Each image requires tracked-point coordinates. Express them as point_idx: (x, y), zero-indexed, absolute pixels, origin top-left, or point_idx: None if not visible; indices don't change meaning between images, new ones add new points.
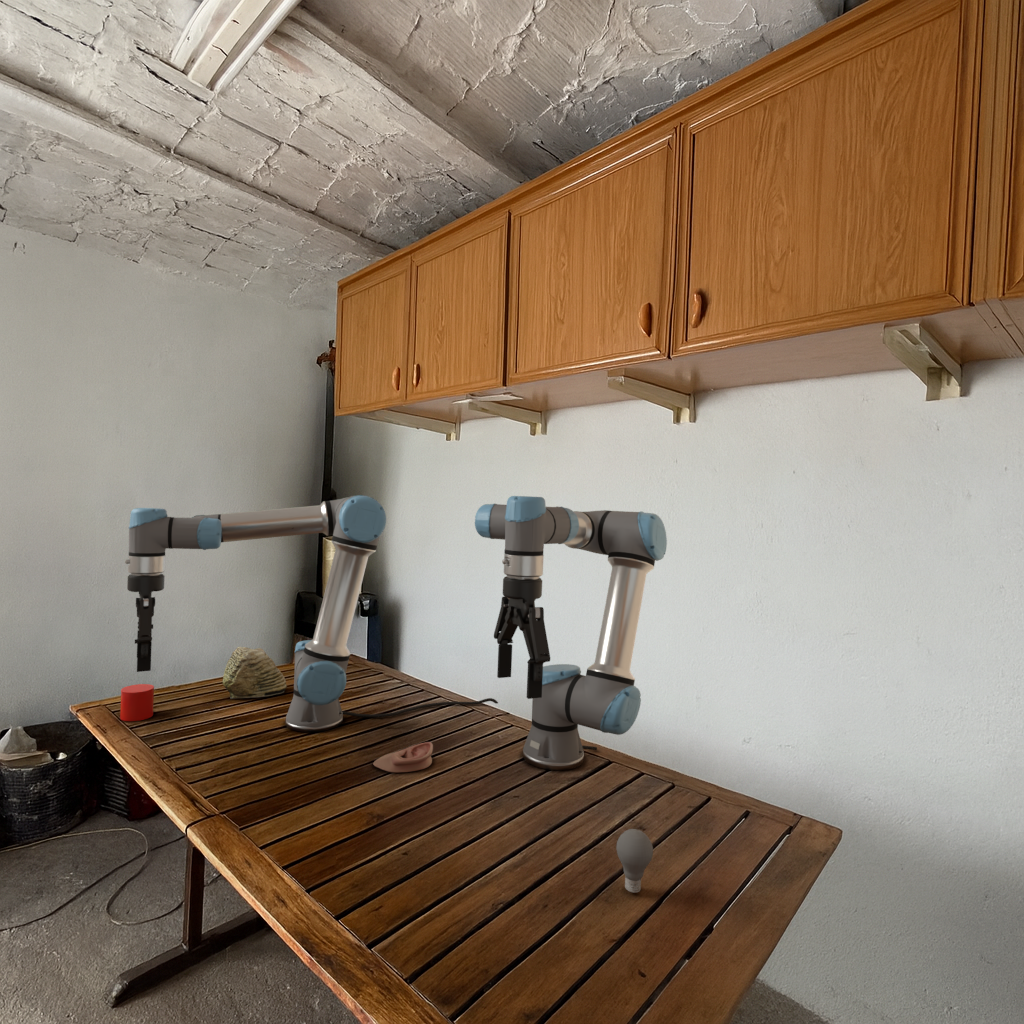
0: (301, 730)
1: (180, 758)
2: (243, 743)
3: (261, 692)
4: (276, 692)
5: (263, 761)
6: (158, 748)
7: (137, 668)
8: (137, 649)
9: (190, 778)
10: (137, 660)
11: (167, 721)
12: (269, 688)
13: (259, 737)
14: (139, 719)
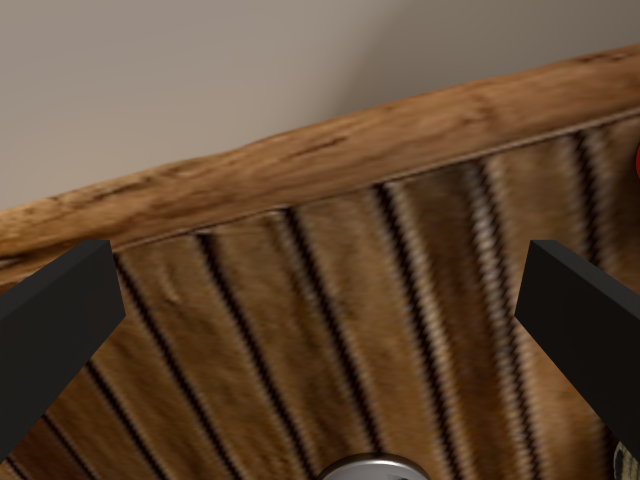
0: (326, 471)
1: (270, 246)
2: (311, 370)
3: (628, 451)
4: (617, 474)
5: (189, 389)
6: (364, 201)
7: (71, 253)
8: (567, 271)
9: (139, 258)
10: (24, 281)
11: (574, 229)
12: (630, 473)
13: (334, 400)
14: (638, 157)
